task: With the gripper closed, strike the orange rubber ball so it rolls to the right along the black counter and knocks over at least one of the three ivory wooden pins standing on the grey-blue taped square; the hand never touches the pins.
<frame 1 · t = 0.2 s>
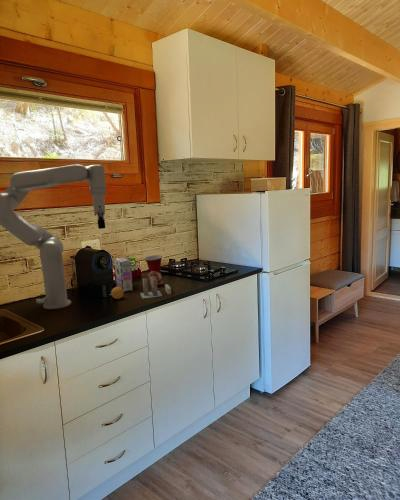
hand: (101, 227, 183), 36 cm above the table, tool pointing down, fingers open, 9 cm apart
pin deck mark: (151, 294, 193), on the table
plastic cup: (154, 276, 236), on the table
back pin far: (154, 293, 196), on the table
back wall: (168, 292, 197), on the table
front pin: (146, 295, 192), on the table
candy box: (124, 289, 208), on the table
back pin near: (155, 295, 191), on the table
ball: (117, 292, 189), on the table
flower: (156, 286, 211), on the table
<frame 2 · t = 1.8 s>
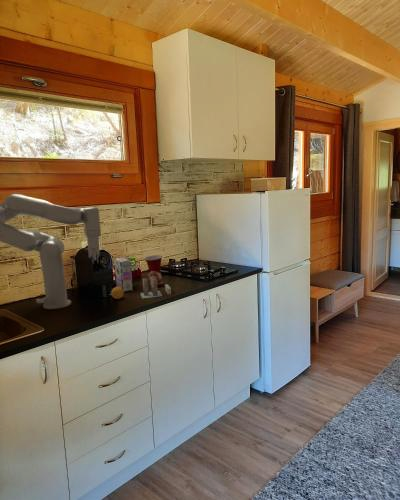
hand: (96, 270, 184), 15 cm above the table, tool pointing down, fingers closed
nothing on the table moved.
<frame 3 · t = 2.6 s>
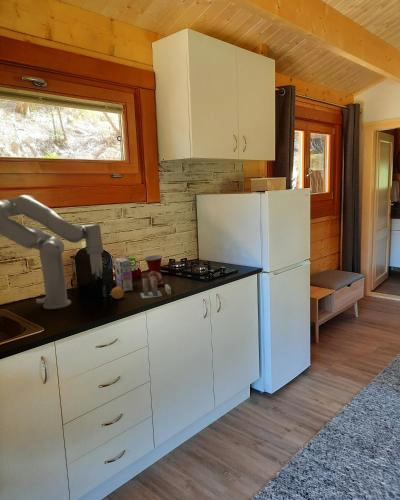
hand: (100, 286, 186), 7 cm above the table, tool pointing down, fingers closed
nothing on the table moved.
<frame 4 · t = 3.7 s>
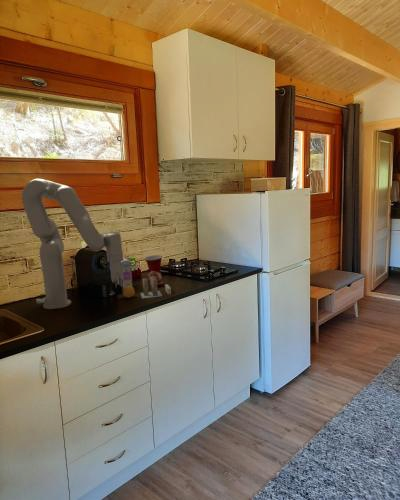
hand: (119, 294, 189), 2 cm above the table, tool pointing down, fingers closed
ball: (128, 291, 190), on the table
everything else where it was.
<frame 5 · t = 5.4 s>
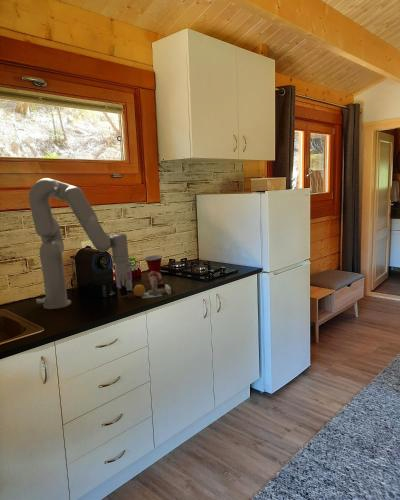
hand: (123, 295, 189), 2 cm above the table, tool pointing down, fingers closed
front pin: (148, 293, 193), point 1 cm above the table, tilted 90°
ball: (139, 290, 191), on the table
everything else where it was.
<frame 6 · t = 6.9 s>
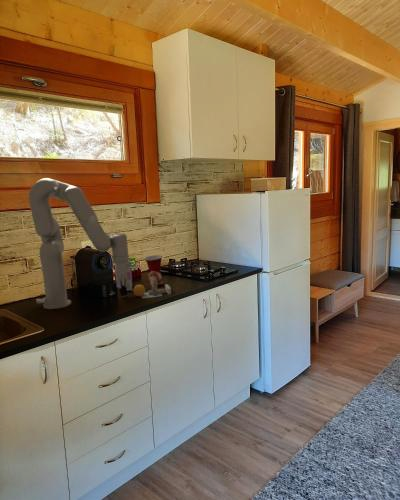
hand: (123, 295, 189), 2 cm above the table, tool pointing down, fingers closed
nothing on the table moved.
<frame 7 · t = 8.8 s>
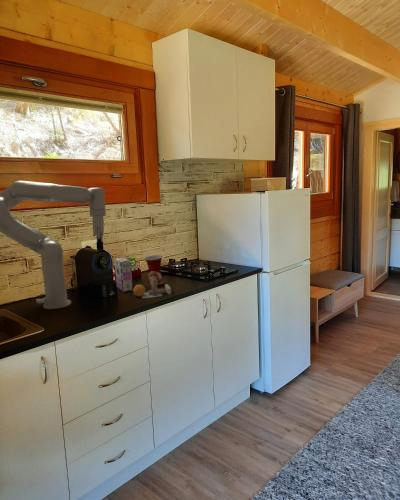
hand: (100, 250, 190), 24 cm above the table, tool pointing down, fingers closed
nothing on the table moved.
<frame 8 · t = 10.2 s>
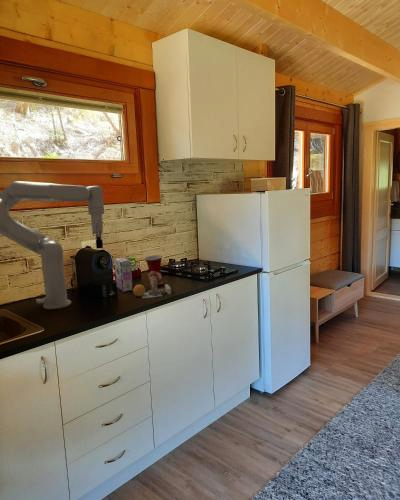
hand: (99, 248, 190), 25 cm above the table, tool pointing down, fingers closed
nothing on the table moved.
at the end: 1 of 3 knocked over (down: front pin; still standing: back pin near, back pin far); front pin never touched the robot; ball moved 10.8 cm from its start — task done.
